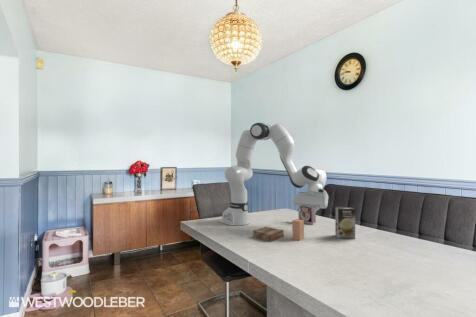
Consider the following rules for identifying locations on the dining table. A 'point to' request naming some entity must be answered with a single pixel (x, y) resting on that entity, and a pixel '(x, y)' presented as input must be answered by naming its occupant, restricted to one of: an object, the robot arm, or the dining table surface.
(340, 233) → the coffee box
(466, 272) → the dining table surface
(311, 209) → the greeting card
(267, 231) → the base block
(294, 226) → the pillar block
